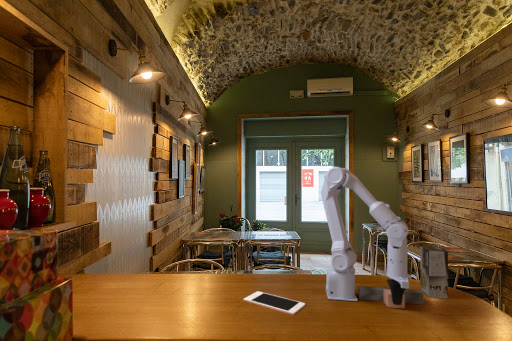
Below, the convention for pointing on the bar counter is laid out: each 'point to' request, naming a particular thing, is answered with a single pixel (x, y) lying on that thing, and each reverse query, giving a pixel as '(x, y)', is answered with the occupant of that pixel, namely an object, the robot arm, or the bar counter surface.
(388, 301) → the block
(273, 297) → the cell phone
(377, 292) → the gray rectangular bar
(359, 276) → the bar counter surface
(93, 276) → the bar counter surface
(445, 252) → the coffee box
